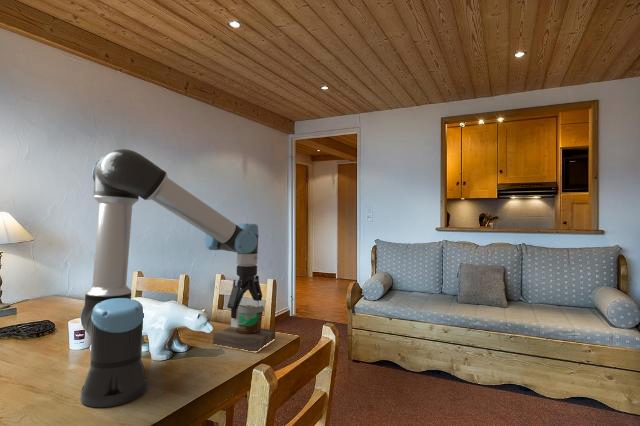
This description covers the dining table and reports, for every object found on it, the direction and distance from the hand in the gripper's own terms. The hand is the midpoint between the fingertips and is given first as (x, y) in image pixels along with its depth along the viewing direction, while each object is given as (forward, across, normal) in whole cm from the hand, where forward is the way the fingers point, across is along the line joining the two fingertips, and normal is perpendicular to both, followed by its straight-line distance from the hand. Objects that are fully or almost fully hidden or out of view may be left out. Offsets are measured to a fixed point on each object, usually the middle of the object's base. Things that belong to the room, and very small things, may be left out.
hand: (245, 322), depth 133 cm
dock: (+8, 0, 0) cm, 8 cm away
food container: (+4, 0, 0) cm, 4 cm away
